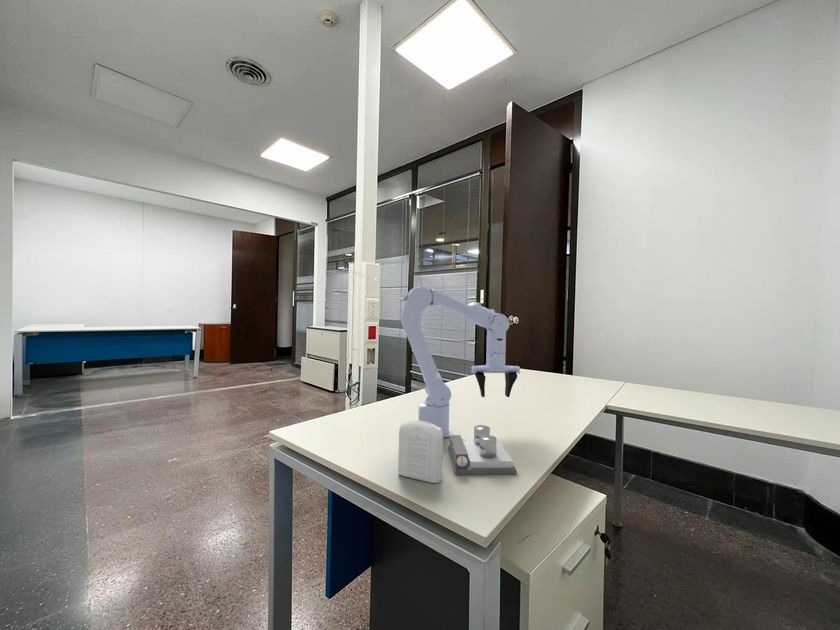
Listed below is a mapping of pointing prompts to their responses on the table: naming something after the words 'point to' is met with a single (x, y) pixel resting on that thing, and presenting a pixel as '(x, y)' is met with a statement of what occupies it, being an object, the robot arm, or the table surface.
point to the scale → (478, 459)
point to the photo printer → (420, 451)
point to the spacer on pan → (480, 432)
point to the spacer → (487, 446)
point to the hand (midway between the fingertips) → (495, 396)
